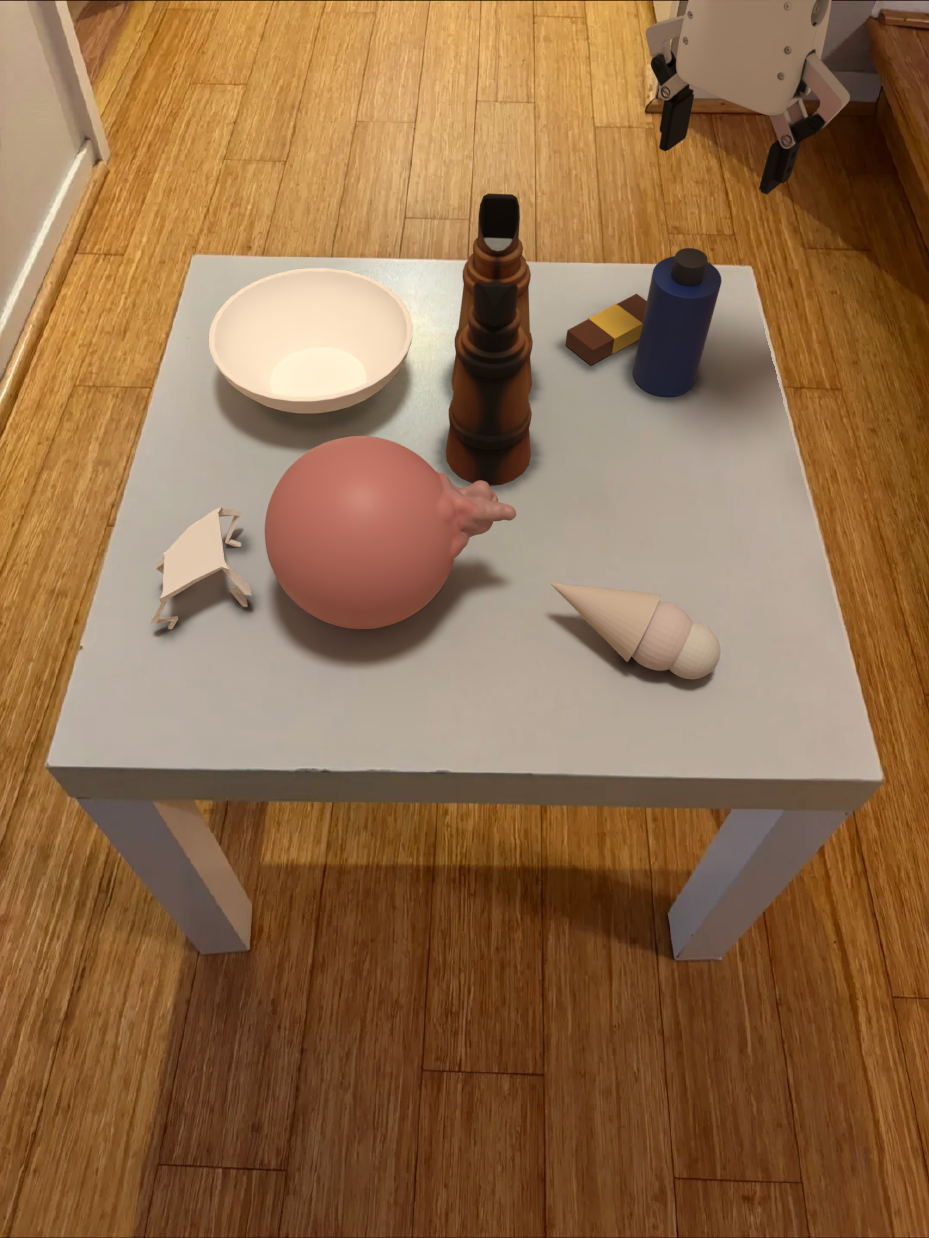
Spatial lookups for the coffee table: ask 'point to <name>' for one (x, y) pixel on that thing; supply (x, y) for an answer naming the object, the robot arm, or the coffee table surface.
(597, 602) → the ice cream cone
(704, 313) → the water bottle
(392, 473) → the balloon
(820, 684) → the coffee table surface
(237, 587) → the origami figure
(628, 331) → the chocolate bar
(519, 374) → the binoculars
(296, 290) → the bowl
